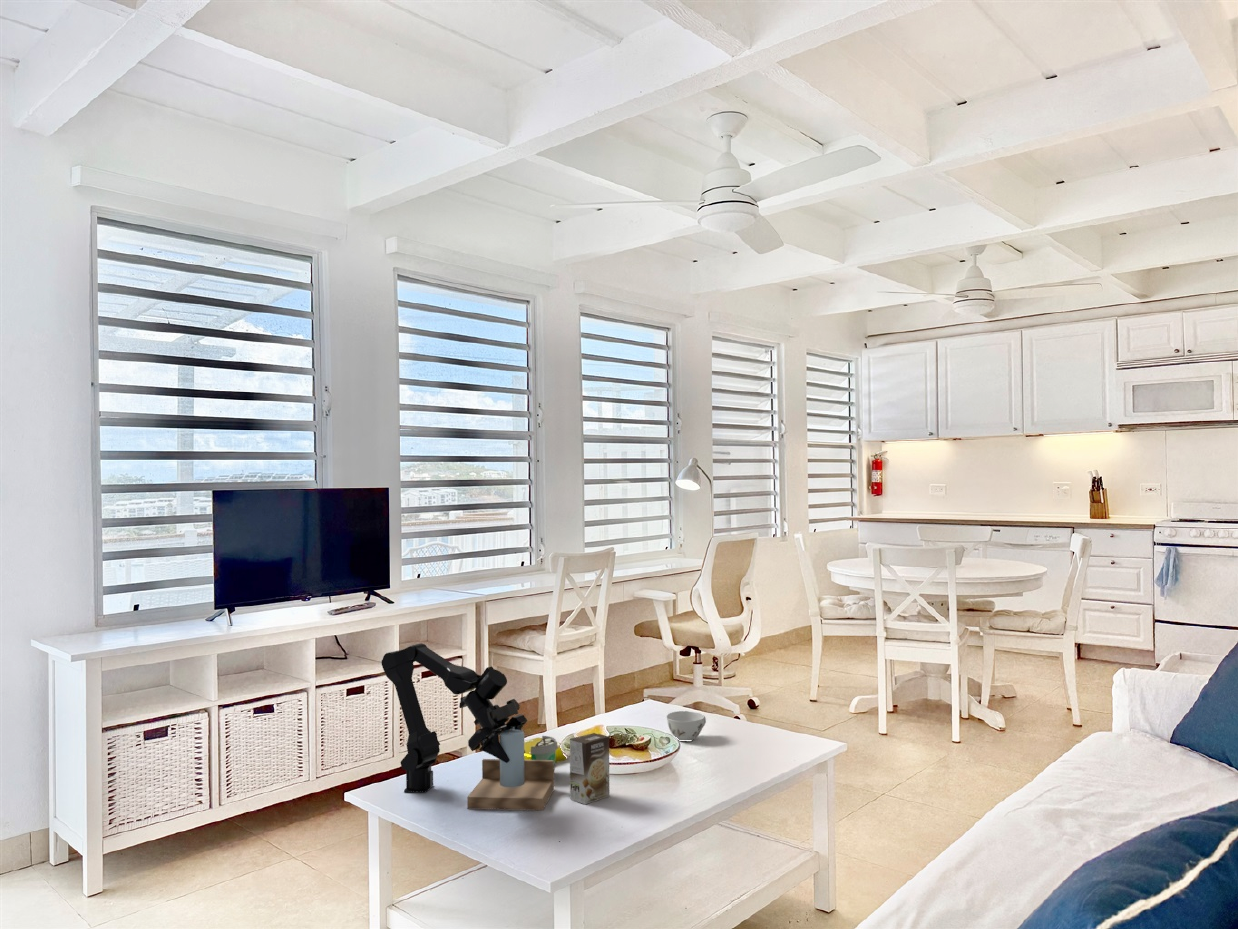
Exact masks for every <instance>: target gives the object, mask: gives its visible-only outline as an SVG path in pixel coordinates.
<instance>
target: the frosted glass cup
mask: <svg viewBox="0 0 1238 929" xmlns="http://www.w3.org/2000/svg"><path fill="white" fill-rule="evenodd" d="M524 741H525V731H524V730H522V729H521V730H516V729H512V730H505V731H502V732H500V735H499V743H500V744H501V746H502V748H503V749H504V751H505V752H506V754H507V756H508V758H509V762H508V763H505V762H504V761H502V760H500V785H501V786H503V787H519V786H522V785H523V784H524V783H525V761H524Z"/></svg>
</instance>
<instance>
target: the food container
mask: <svg viewBox="0 0 1238 929" xmlns="http://www.w3.org/2000/svg"><path fill="white" fill-rule="evenodd" d="M541 738H542V740H541V741H540V742H538V743H537V744H536V746H535V747H531V760H554V771H555V768H556V763H555V752H556V750H557V749H558V745H557V743H558V741H557V739H556V738H555V737H553V736H550V735H549V736H547V735H542V736H541Z"/></svg>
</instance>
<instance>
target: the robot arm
mask: <svg viewBox="0 0 1238 929" xmlns="http://www.w3.org/2000/svg"><path fill="white" fill-rule="evenodd" d="M415 662H416V663H418V664H419V665H421V666H422V667H424V668H425V669H427V670H428V671H430V672H431V673H433V674H434V675H436V676H437V677H439V678H440V679H442V681H443V684H444V685H445V687H446V688H447V689H448V690H449V691H450V692H451V693H452V694H454V695H456V696H457V695H461V694H465V693H467V694H466V695H465V696H461V697H460V701H459V707H458V708H460V709H464V708H465V707H467V708H468V710H469V711H470V713H471V715H472V716H473V718H474V719H475V720H474V721H473V723H474V725H475V726H477V725H479V726H480V728H479V729H476V731H475V732H474V733H473V734H472V736H471V737H470V738H469V739H468V740H467V744H468V747H469V749H470V751H471V752H474V751H476V750H478V751H479V752H484V753H486V754H487V755H491V756H493V757H495V759H500V760H502V761H504V762H505V763H508V762H509V758H508V756H507V754H506V752H505V751H504V749H503V748H502V746H501V744H500V732H502V731H505V730H512V729H516V730H522V729H523V728H524V726H525V724H526V723H527V722H528V719H527V717H526V716H525V715H524V714H519V710H520V708H521V707H520V704H519V702H518V701H517V700H516V699H515V698H512V699H509V700H507V701H506V704H505V705H502V706H500V705H498V704H495V705H494V704H493V703H492V702H491V700H494V699H495V698H496V697H497V696H498V694H500V692H502V690H504V688H505V687H506V686H507V684H508V680H507V677H506V675H505V673H502V672H501V671H499V670H498V669H495V668H494V667H493V666H488V667H486V668H485V669H484V670H483V672H482V674H478V673H477V672H476V671H475V670H474V669H471V668H469V667H466V666H464V665H463V666H462V665H456V664H454V663H452V662H451V661H450V660H448V659H446V658H444V657H443V656H441V655H440V654H438V653H436V652H435V651H433V650H432V649H431V648H429V647H427V645H426V644H425V643H422V642H421V643H416V644H411V645H409V646H408V647H406V648H403V649H399V650H394V651H389V652H386V653H385V654H384V655H383V656H382V659H381V666H382V670H383V672H384V673H385V676H386V678H388V680H389V681H391V683H393V685H394V687H395V691H396V694H397V697H398V701H399V703H400V708H401V711H402V715H403V718H404V721H405V725H406V729H407V732H408V737H407V741H406V749H407V753H406V755H404V757H403V758H402V760H400V762H399V763H400V767H401V770H403V771H405V772H406V773H405V777H406V778H405V780H406V781H405V786H406V788H405V789H404V790H403V792H404V793H427V792H428V791H429V790H430V789H431V788H432V787H433V786H434V771H433V770H432V765H435V764H436V762H437V758H438V756H439V753H440V750H441V748H440V745H441V743H440V741H439V739H438V734H437V732H436V731H435V730H433V731H431V730H429V729H428V728H427V725H426V723H425V719H424V715H423V712H422V707H421V705H420V701H419V698H418V694H417V692H416V688H415V686H414V685H415V684H414V681H413V674H414V669H415V664H414V663H415ZM510 717H511V718H510ZM524 755H525V749H524Z"/></svg>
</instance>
